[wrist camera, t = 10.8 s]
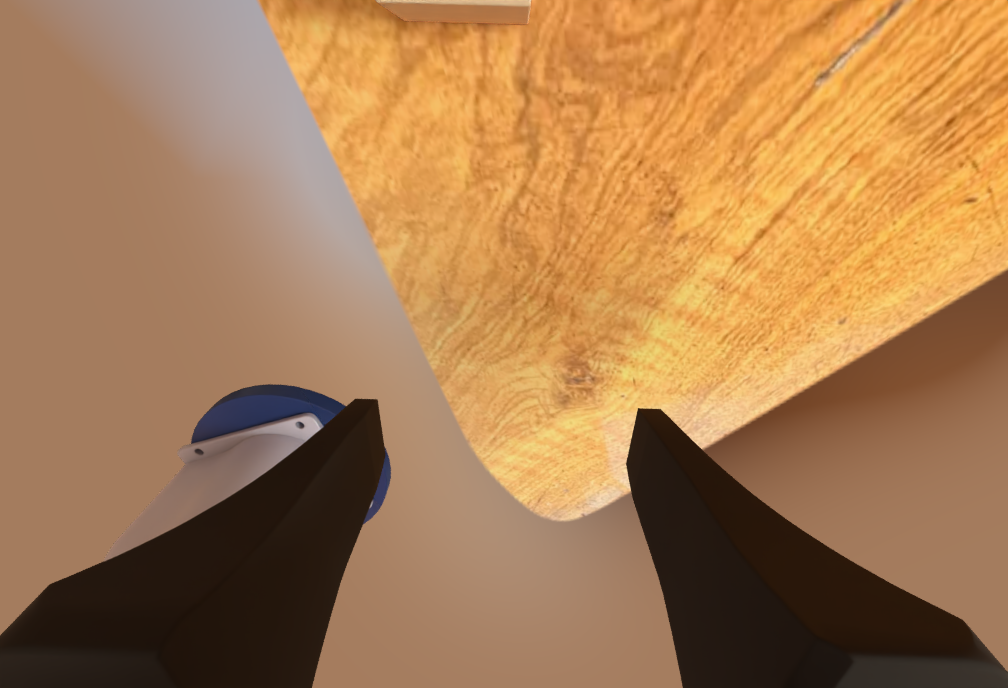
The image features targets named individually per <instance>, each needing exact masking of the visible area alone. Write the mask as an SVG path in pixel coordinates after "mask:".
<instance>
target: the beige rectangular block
mask: <svg viewBox="0 0 1008 688" xmlns="http://www.w3.org/2000/svg"><path fill="white" fill-rule="evenodd" d="M376 2H377V3H379V4H380V5H381V6H383V7H384V8H386V9H387V10H389V11H390V12H392V13H393V14H395V15H396V16H398V17H399V18H401V19H402V20H404V21H417V22H453V23H490V24H528V22H529V15H530V7H531V0H376Z"/></svg>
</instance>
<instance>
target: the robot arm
mask: <svg viewBox="0 0 1008 688" xmlns="http://www.w3.org/2000/svg"><path fill="white" fill-rule="evenodd" d="M299 422H302V423H303V424H300V423H299ZM178 456H179V457H180V458H181V460H183V462H184V463H185V465H184V467H183V468H182V469H181V470H180V471H179V472H178V473H177V474H176V475H175V476H174V478H173V479H172V480H171V481H170V482H169V483H168V484H167V485H166V486H165V487H164V489H163V490H162V491H161V492H160V493H159V494H158V495H157V496H156V497H155V498H154V500H153V501H152V502H151V503H150V504H149V505H148V506H147V507H146V509H144V510H143V512H142V513H141V514H140V515H139V516H138V517H137V518H136V519H135V520H134V521H133V523H132V524H131V525H130V526H129V527H128V528H127V529H126V530H125V531H124V532H123V533H122V535H121V536H120V537H119V538H118V539H117V540H116V541H115V543H114V544H113V546H112V547H111V548H110V550H109V552H108V553H107V555H106V557H105V559H104V561H103V562H102V563H99V564H97V565H95V566H92V567H90V568H88V569H85V570H83V571H81V572H79V573H76V574H74V575H71V576H69V577H67V578H64V579H62V580H59V581H57V582H54V583H52V584H50V585H49V586H48V587H47V588H46V589H45V590H44V591H43V592H42V593H41V594H40V595H39V596H38V597H37V598H36V599H35V600H34V601H33V602H32V603H31V604H30V605H29V606H28V607H27V608H26V610H25V611H23V612H22V614H21V615H20V616H19V617H18V618H17V619H16V620H15V621H14V622H13V623H12V624H11V625H10V626H9V627H8V628H7V629H6V630H5V631H4V632H3V633H2V634H1V635H0V688H312V684H313V681H314V677H315V673H316V669H317V665H318V661H319V657H320V653H321V650H322V646H323V642H324V639H325V635H326V631H327V628H328V624H329V620H330V617H331V613H332V610H333V606H334V603H335V600H336V596H337V593H338V590H339V586H340V583H341V580H342V577H343V574H344V571H345V568H346V566H347V563H348V560H349V558H350V555H351V553H352V550H353V547H354V545H355V543H356V540H357V538H358V535H359V533H360V530H361V528H362V525H363V523H364V520H365V518H366V515H367V513H368V510H369V508H371V506H372V504H373V498H374V495H375V492H376V490H377V487H378V483H379V479H380V476H381V472H382V468H383V464H384V459H385V448H384V442H383V434H382V427H381V421H380V414H379V407H378V400H376V399H355V400H354V401H352V402H351V403H350V404H349V405H348V406H346V407H345V408H344V409H343V410H342V411H341V412H340V413H338V414H337V415H336V416H335V417H334V418H333V419H332V420H330V421H329V422H328V423H327V424H326V425H325V426H324V427H323V425H322V424H321V422H320V421H319V419H318V418H317V417H316V415H314V414H312V413H303V414H299V415H295V416H292V417H288V418H284V419H281V420H277V421H273V422H270V423H266V424H262V425H259V426H255V427H251V428H248V429H244V430H240V431H236V432H233V433H229V434H225V435H222V436H218V437H214V438H211V439H207V440H203V441H200V442H196V443H192V444H189V445H185V446H183V447H182V448H180V449H179V450H178ZM626 465H627V471H628V476H629V482H630V487H631V492H632V497H633V500H634V504H635V507H636V510H637V513H638V516H639V519H640V522H641V526H642V528H643V532H644V535H645V538H646V541H647V544H648V546H649V550H650V553H651V556H652V559H653V562H654V565H655V568H656V571H657V574H658V577H659V580H660V585H661V588H662V591H663V595H664V600H665V604H666V608H667V613H668V618H669V622H670V626H671V631H672V636H673V641H674V645H675V650H676V655H677V660H678V665H679V670H680V674H681V680H682V685H683V688H1008V672H1007V671H1006V670H1005V668H1004V667H1003V666H1002V665H1001V664H1000V663H999V661H998V660H997V659H996V658H995V657H994V656H993V654H992V653H991V652H990V651H989V650H988V649H987V647H985V645H984V644H983V643H982V642H981V641H980V639H979V638H978V637H977V636H976V635H975V633H974V632H973V631H972V630H971V629H970V628H969V626H968V625H967V624H966V623H965V622H964V621H963V620H962V619H960V618H958V617H956V616H954V615H952V614H950V613H948V612H946V611H944V610H942V609H940V608H938V607H936V606H934V605H932V604H930V603H928V602H926V601H924V600H922V599H920V598H918V597H916V596H914V595H912V594H910V593H908V592H906V591H904V590H902V589H900V588H898V587H897V586H894V585H893V584H891V583H889V582H887V581H885V580H884V579H882V578H880V577H878V576H877V575H875V574H873V573H871V572H869V571H868V570H866V569H864V568H862V567H861V566H859V565H857V564H855V563H854V562H852V561H850V560H849V559H847V558H845V557H844V556H842V555H840V554H839V553H837V552H835V551H834V550H832V549H830V548H829V547H827V546H826V545H824V544H823V543H821V542H820V541H818V540H817V539H815V538H813V537H812V536H810V535H809V534H807V533H806V532H804V531H802V530H801V529H800V528H798V527H797V526H795V525H794V524H792V523H791V522H789V521H788V520H787V519H785V518H784V517H782V516H781V515H780V514H778V513H777V512H776V511H774V510H773V509H772V508H770V507H769V506H767V505H766V504H765V503H764V502H762V501H761V500H760V499H758V498H757V497H756V496H754V495H753V494H752V493H751V492H749V491H748V490H747V489H746V488H745V487H743V486H742V485H741V484H740V483H739V482H737V481H736V480H735V479H734V478H733V477H732V476H730V475H729V474H728V473H727V472H726V471H725V470H723V469H722V468H721V467H720V466H719V465H718V464H717V463H716V462H714V461H713V460H712V459H711V458H710V457H709V456H708V455H707V454H706V453H705V452H704V451H703V450H702V449H701V448H700V447H699V446H698V445H697V444H695V443H694V442H693V441H692V440H691V439H690V438H689V437H688V436H687V435H686V434H685V433H684V432H683V431H682V430H681V429H680V428H679V427H678V426H677V425H676V424H675V423H674V422H673V421H672V420H671V419H670V418H669V417H668V416H667V415H666V414H665V413H664V412H663V411H662V410H661V409H640V408H638V411H637V416H636V421H635V425H634V430H633V435H632V439H631V444H630V449H629V453H628V458H627V463H626Z"/></svg>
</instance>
